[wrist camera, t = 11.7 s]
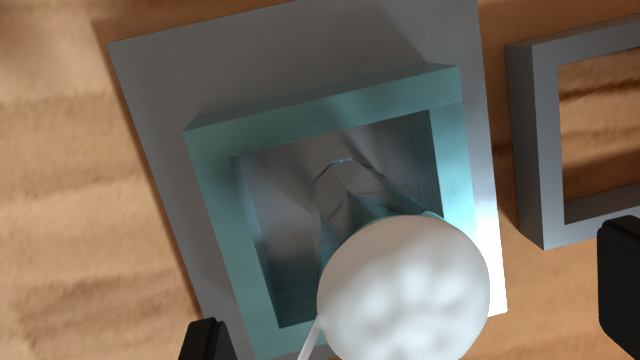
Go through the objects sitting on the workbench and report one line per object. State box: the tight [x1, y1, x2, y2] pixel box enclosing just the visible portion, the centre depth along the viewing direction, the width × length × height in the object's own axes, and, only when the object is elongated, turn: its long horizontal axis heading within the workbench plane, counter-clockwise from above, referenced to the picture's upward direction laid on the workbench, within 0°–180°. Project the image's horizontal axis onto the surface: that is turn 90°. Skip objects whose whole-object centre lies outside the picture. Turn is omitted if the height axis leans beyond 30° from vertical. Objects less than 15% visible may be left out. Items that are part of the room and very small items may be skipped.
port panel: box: [106, 0, 507, 360], centre depth 18 cm, size 14×16×4 cm
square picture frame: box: [505, 13, 640, 251], centre depth 19 cm, size 9×9×2 cm
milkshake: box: [296, 160, 491, 360], centre depth 14 cm, size 4×5×10 cm
